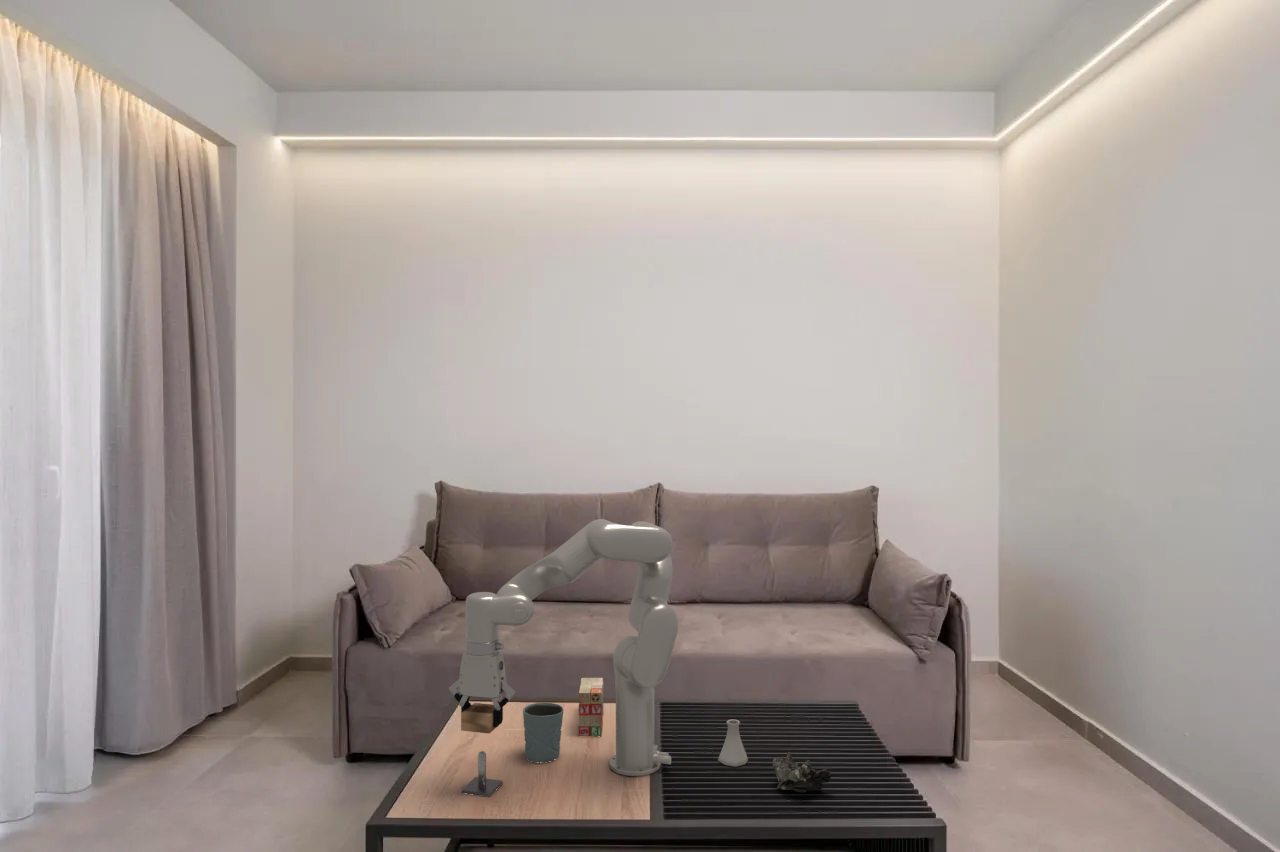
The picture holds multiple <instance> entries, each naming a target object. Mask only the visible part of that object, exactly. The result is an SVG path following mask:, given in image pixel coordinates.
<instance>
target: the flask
mask: <svg viewBox="0 0 1280 852" xmlns="http://www.w3.org/2000/svg"><path fill="white" fill-rule="evenodd" d="M725 724H727V732H726V737H725V740H724V743H723V746H722V749H721V751H720V754H719V756H718V758H717V761H718V762H720V763H721V764H723V765H725V766H729V767H734V768H736V767H740V766H744V765H746V763H748V761H749V758H748V756H747V755H748V754H747V752H746V749H745V747H744V745H743V741H742V739H741V734H740V725H741V721H739V720H737V719H728V720H727V721H726V722H725Z"/></svg>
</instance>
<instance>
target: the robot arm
mask: <svg viewBox="0 0 1280 852" xmlns="http://www.w3.org/2000/svg"><path fill="white" fill-rule="evenodd" d="M673 547H674V541H673V538H672V535H671V534H670V532H668V530H666V529H665V528H663V527H661V526H658V525H656V524H654V523H651V522H647V521H643V520H642V521H641V520H640V521H635V522H634V523H633V522H632V524H630V525H629V524H626V525H625V524H619V523H616V522H612V521H609V520H607V519H604V518H598V519H597V518H596V519H594V520H592V521H590V522H589V523H587V525H585V526H584V527H583V528H581V529H580V530H579V531H577V532H576V533H575V534H574V535H572V536H571V537H570V538H569V539H568V540H566V541H565V542H564V543H562V544H561V545H560V546H559V547H558V548H557V549H555V550H554V551H553V552H552V553H550V554H548V555H547V556H544V557H543V558H541V559H539V560H537V561H536V562H534V563H532V564H531V565H529V566H527V567H525V568H524V569H523V570H521V571H520V572H519V573H517V574H516V575H514V577H512V578H511V579H509V581H507V582H506V583H505V584H504V585H502V586H501V587H500V589H499V590H498V591H497V593H494V592H490V591H479V592H473V593H472V592H471V594H469V595H467V596H466V597H465V643H464V645H465V648H464V649H465V651H463V652H462V656H461V661H460V662H461V663H460V667H459V677H458V679H457V680H456V681H454V683H453V684H452V685H450V686H449V687H448V689H449V692H450V693H452V695H453V697H454V699H455V700H456V701H457V702H458V705H459V707H461V708H460V710H461V711H460V714H461V713H462V712H463V711H464V710H466V709H467V708H469V707H470V706H471V705H472V704H471V703H472V702H470V700H471V698H479V699H491V702H492V705H494V706H495V710H493V726H494V727H496V728H498V727H499V726H500V725H501V724H502V723H503V720H504V709H503V708H504V707H505V706H506V705H507V703H509V702H510V701H511V700H512V698H513V697H514V696H515V695H516V691H515V690H514V688H512V687H511V686H510V685H509V683H507V677H506V667H505V666H506V665H505V660H504V655H503V651H500V650H505V649H504V648H505V644H504V643H501V641H500V639H499V638H500V637H499V636H500V635H499V631H500V630H499V629H500V628H499V626H512V627H513V626H514V627H517V626H522V625H525V624H527V623H528V622H529V621H530V620H532V618H533V616H534V614H535V607H534V606H535V605H534V603H533V600H534V599H536V597H538V596H540V595H541V594H543V593H544V592H545V591H547V590H549V589H552V588H555V587H558V586H565V585H567V584H571V583H573V582H575V581H576V580H577V579H579V578H580V577H581V576H583V574H585V573H586V572H587V571H588V570H590V568H592V567H593V566H595V565H596V564H597V563H598V562H600V561H601V559H605V560H609V561H619V562H632V563H634V562H636V563H637V565H638V573H637V579H636V583H635V587H634V591H633V595H632V598H631V603H630V606H629V609H628V614H627V616H628V617H627V618H628V622H629V624H630V626H631V628H633V629H634V630H635V631H636V632H637V636H636V635H630V636H626V637H623V638H622V639H621V640H620V641H619V642H618V643H617V645H616V646H615V648H614V651H613V657H612V660H613V661H612V662H613V671H614V672H613V673H614V681H615V755H613V756H612V757H611V758H610V759H609V765H608V766H609V768H610V769H611V770H612V772H615V773H616V774H619V775H623V776H630V777H642V776H648V775H651V774H653V773H655V772H657V771H658V770H659V769H660V768H661V764H665V765H671V764H672V755H669V752H664V751H660V750H658V744H655V701H656V700H655V697H656V696H655V687H657V686H658V685H660V683H662V681H663V680H664V679H665V677H666V675H667V672H668V670H669V667H670V663H671V659H672V654H673V651H674V647H675V645H676V640H677V635H678V632H679V631H678V630H679V618H678V615H677V613H676V611H675V609H674V608H673V607H672V606H671V605H670V604H668V602H669V601H668V600H669V598H670V597H669V595H670V590H671V586H672V581H673V575H674V574H673V573H674V572H673V571H674V569H673V561H672V556H671V554H672V551H673ZM504 693H505V694H506V695H505V696H504V697H503V696H502V694H504ZM501 722H502V723H501ZM497 726H498V727H497Z"/></svg>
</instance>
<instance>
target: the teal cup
mask: <svg viewBox="0 0 1280 852" xmlns="http://www.w3.org/2000/svg"><path fill="white" fill-rule="evenodd" d="M563 707H564V706H561V704H557V703H554V702H537V703H535V702H534V703H531V704H528V705H526V706H525V707H523V709H522V715H523V727H524V735H523V736H524V741H525V744H524V753H525V759H526V758H527V759H528V760H529V762H531V761H532V762H531V763H534V762H539V763H538V764H541V763H540V762H547V763H550V762H549V761H551V762H554V761H555V760H554V759H556V760H558V758H559V757H560V750H561V739H562V738H561V737H562V730H561V729H562V727H563V720H564V719H563V718H564V717H563V716H564V708H563ZM527 759H526V760H527ZM528 760H527V761H528ZM553 760H554V761H553Z"/></svg>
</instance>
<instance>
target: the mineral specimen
mask: <svg viewBox="0 0 1280 852" xmlns="http://www.w3.org/2000/svg"><path fill="white" fill-rule="evenodd" d="M772 767H773V768H774V772H775V777H776V779H777V781H778V784H777V787H776V788H777V790H778V789H779V790H780V789H781V790H784V791H785V790H786V791H787V790H788V791H790V790H791V791H795V792H798V793H803V792H804V793H806V792H807V791H821V790H822V789H823V788H824V786H825V785H824V784H826V783H831V782H832V777H831V770H830V769H829V768H823V769H821V770H818V771H817V770H816V769H813V768H812V765H811V761H810V760H808V759H806V760H805V762H804V763H803V764H801V765H800V766H799V763H798V762H797V761H794V760H793V757H792V754H791V752H790V751H788V752H787V754H786V757H785V758H780V757H774V758H773V761H772Z"/></svg>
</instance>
